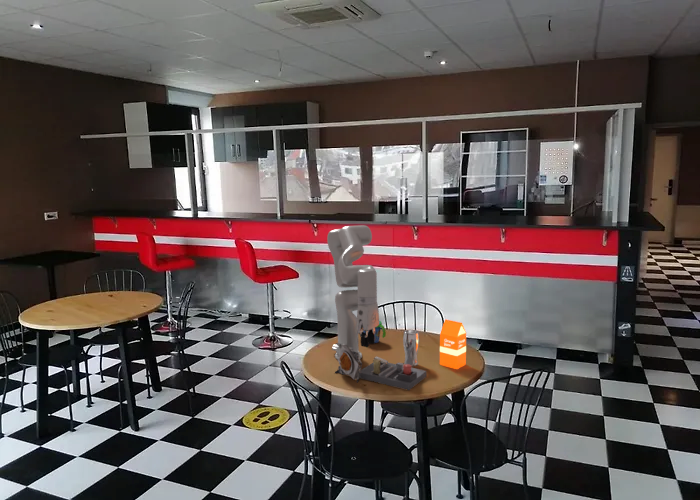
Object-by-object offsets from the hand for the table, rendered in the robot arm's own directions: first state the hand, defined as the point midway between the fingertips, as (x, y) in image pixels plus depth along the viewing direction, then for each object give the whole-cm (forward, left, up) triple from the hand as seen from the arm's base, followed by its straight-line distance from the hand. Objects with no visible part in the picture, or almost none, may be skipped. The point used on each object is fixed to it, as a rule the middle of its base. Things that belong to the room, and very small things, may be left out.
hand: (367, 344), depth 208 cm
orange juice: (+20, +39, -17) cm, 47 cm away
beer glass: (+4, +30, -17) cm, 35 cm away
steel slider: (+7, +14, -14) cm, 21 cm away
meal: (-12, +3, -18) cm, 21 cm away
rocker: (-5, +18, -13) cm, 23 cm away
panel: (+4, +13, -17) cm, 22 cm away
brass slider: (0, +7, -14) cm, 16 cm away
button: (+13, +9, -13) cm, 20 cm away
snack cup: (-27, +47, -17) cm, 57 cm away
